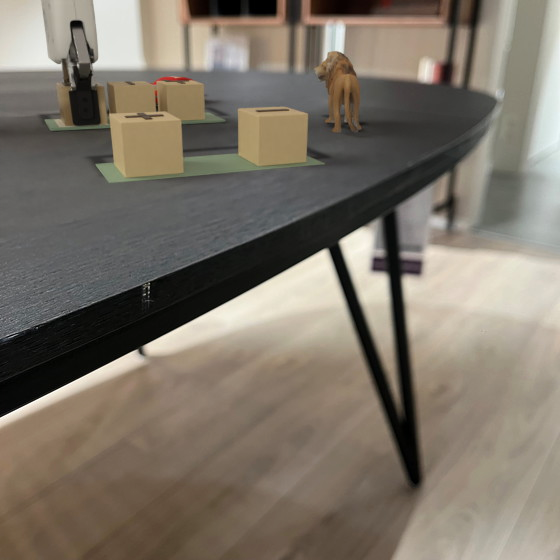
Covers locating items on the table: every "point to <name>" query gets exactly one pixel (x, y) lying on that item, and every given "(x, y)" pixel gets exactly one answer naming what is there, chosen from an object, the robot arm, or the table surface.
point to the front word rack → (170, 162)
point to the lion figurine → (340, 90)
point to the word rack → (152, 102)
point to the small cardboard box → (66, 108)
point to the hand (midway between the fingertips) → (83, 119)
